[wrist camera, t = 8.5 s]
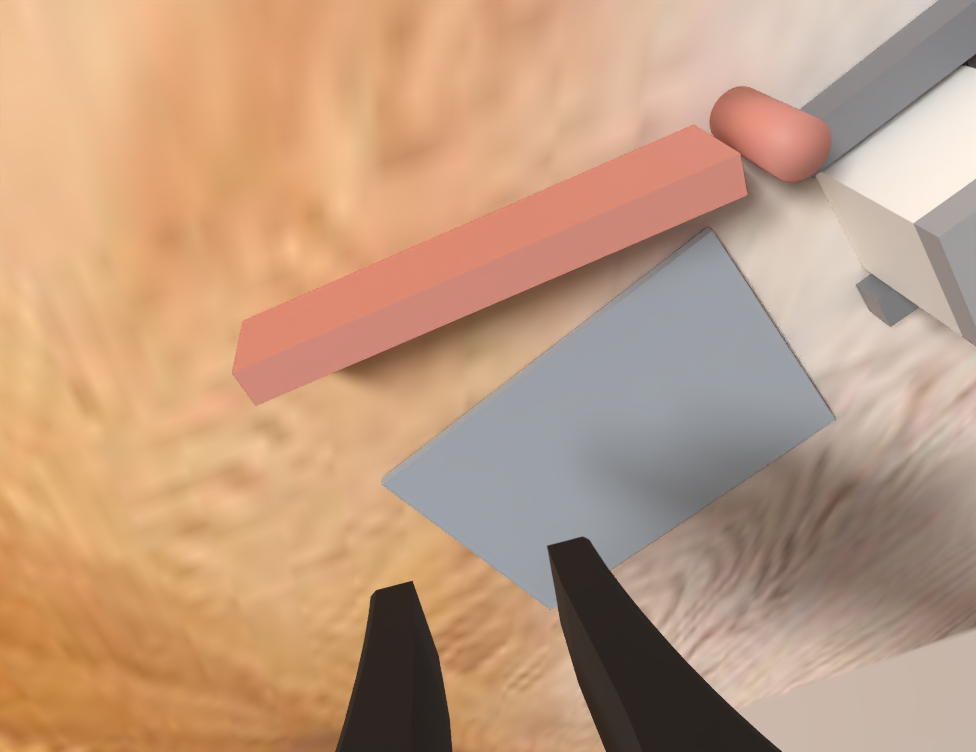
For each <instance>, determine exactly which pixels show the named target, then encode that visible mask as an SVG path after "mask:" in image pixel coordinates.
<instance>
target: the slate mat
mask: <svg viewBox="0 0 976 752" xmlns="http://www.w3.org/2000/svg"><path fill="white" fill-rule="evenodd" d="M834 420H835V418H834V416H833V415H832V413H831V412H830V410H829V409H828V407H827V406H826V404H825V402H824V401H823V399H822V398H821V396H820V395H819V393H818V392H817V390H816V389H815V387H814V386H813V384H812V383H811V381H810V379H809V378H808V376H807V375H806V373H805V372H804V370H803V369H802V367H801V366H800V364H799V363H798V361H797V359H796V358H795V356H794V355H793V353H792V352H791V350H790V349H789V347H788V346H787V344H786V343H785V341H784V340H783V338H782V336H781V335H780V333H779V332H778V330H777V329H776V327H775V326H774V324H773V323H772V321H771V320H770V318H769V316H768V315H767V313H766V312H765V310H764V309H763V307H762V306H761V304H760V303H759V301H758V300H757V298H756V297H755V295H754V293H753V292H752V290H751V289H750V287H749V286H748V284H747V283H746V281H745V280H744V278H743V277H742V275H741V274H740V272H739V270H738V269H737V267H736V266H735V264H734V263H733V261H732V260H731V258H730V257H729V255H728V254H727V252H726V250H725V249H724V247H723V246H722V244H721V243H720V241H719V240H718V238H717V237H716V235H715V234H714V232H713V231H712V230H711V229H710V228H709V227H707V228H705V229H704V230H703V231H702V232H700V233H699V234H698V235H696V236H695V237H694V238H692V239H691V240H690V241H689V242H687V243H686V244H685V245H683V246H682V247H681V248H680V249H678V250H677V251H676V252H674V253H673V254H672V255H670V256H669V257H668V258H667V259H665V260H664V261H663V262H661V263H660V264H659V265H657V266H656V267H655V268H654V269H652V270H651V271H650V272H648V273H647V274H646V275H645V276H643V277H642V278H641V279H639V280H638V281H637V282H635V283H634V284H633V285H632V286H630V287H629V288H628V289H626V290H625V291H624V292H622V293H621V294H620V295H619V296H617V297H616V298H615V299H613V300H612V301H611V302H610V303H608V304H607V305H606V306H604V307H603V308H602V309H600V310H599V311H598V312H597V313H595V314H594V315H593V316H591V317H590V318H589V319H588V320H586V321H585V322H584V323H582V324H581V325H580V326H578V327H577V328H576V329H575V330H573V331H572V332H571V333H569V334H568V335H567V336H565V337H564V338H563V339H562V340H560V341H559V342H558V343H556V344H555V345H554V346H553V347H551V348H550V349H549V350H547V351H546V352H545V353H543V354H542V355H541V356H540V357H538V358H537V359H536V360H534V361H533V362H532V363H530V364H529V365H528V366H527V367H525V368H524V369H523V370H521V371H520V372H519V373H518V374H516V375H515V376H514V377H512V378H511V379H510V380H508V381H507V382H506V383H505V384H503V385H502V386H501V387H499V388H498V389H497V390H495V391H494V392H493V393H492V394H490V395H489V396H488V397H486V398H485V399H484V400H483V401H481V402H480V403H479V404H477V405H476V406H475V407H473V408H472V409H471V410H470V411H468V412H467V413H466V414H464V415H463V416H462V417H461V418H459V419H458V420H457V421H455V422H454V423H453V424H451V425H450V426H449V427H448V428H446V429H445V430H444V431H442V432H441V433H440V434H438V435H437V436H436V437H435V438H433V439H432V440H431V441H429V442H428V443H427V444H426V445H424V446H423V447H422V448H420V449H419V450H418V451H416V452H415V453H414V454H413V455H411V456H410V457H409V458H407V459H406V460H405V461H403V462H402V463H401V464H400V465H398V466H397V467H396V468H394V469H393V470H392V471H391V472H389V473H388V474H387V475H385V476H384V477H383V478H382V485H383V486H384V487H386V488H387V489H388V490H390V491H391V492H392V493H394V494H395V495H396V496H398V497H399V498H400V499H402V500H403V501H405V502H406V503H407V504H409V505H410V506H411V507H413V508H414V509H415V510H417V511H418V512H419V513H421V514H422V515H423V516H425V517H426V518H427V519H429V520H430V521H431V522H433V523H434V524H435V525H437V526H438V527H439V528H441V529H442V530H444V531H445V532H446V533H448V534H449V535H450V536H452V537H453V538H454V539H456V540H457V541H458V542H460V543H461V544H462V545H464V546H465V547H466V548H468V549H469V550H470V551H472V552H473V553H474V554H476V555H477V556H479V557H480V558H481V559H483V560H484V561H485V562H487V563H488V564H489V565H491V566H492V567H493V568H495V569H496V570H497V571H499V572H500V573H501V574H503V575H504V576H505V577H507V578H508V579H509V580H511V581H512V582H513V583H515V584H516V585H518V586H519V587H520V588H522V589H523V590H524V591H526V592H527V593H528V594H530V595H531V596H532V597H534V598H535V599H536V600H538V601H539V602H540V603H542V604H543V605H544V606H546V607H547V608H548V609H550V610H551V609H553V608H554V607H556V606H557V600H556V594H555V588H554V583H553V577H552V572H551V566H550V561H549V555H548V549H547V546H548V545H551V544H555V543H559V542H563V541H567V540H571V539H574V538H578V537H582V536H583V537H585V538H587V539H589V540H590V541H591V543H592V544H593V546H594V548H595V549H596V551H597V552H598V554H599V555H600V557H601V558H602V560H603V561H604V563H605V564H606V566H607V567H608V568H609V570H611V569H613V568H614V567H616V566H617V565H619V564H620V563H622V562H623V561H625V560H626V559H628V558H629V557H631V556H632V555H634V554H635V553H637V552H638V551H640V550H641V549H643V548H644V547H646V546H647V545H649V544H650V543H652V542H653V541H655V540H656V539H658V538H659V537H661V536H662V535H664V534H665V533H667V532H668V531H670V530H671V529H673V528H674V527H676V526H677V525H679V524H680V523H681V522H683V521H684V520H686V519H687V518H689V517H690V516H692V515H693V514H695V513H696V512H698V511H699V510H701V509H702V508H704V507H705V506H707V505H708V504H710V503H711V502H713V501H714V500H716V499H717V498H719V497H720V496H722V495H723V494H725V493H726V492H728V491H729V490H731V489H732V488H734V487H735V486H737V485H738V484H740V483H741V482H743V481H744V480H746V479H747V478H749V477H750V476H752V475H753V474H755V473H756V472H758V471H759V470H761V469H762V468H764V467H765V466H767V465H768V464H770V463H771V462H773V461H774V460H776V459H777V458H779V457H780V456H782V455H783V454H785V453H786V452H788V451H789V450H791V449H792V448H794V447H795V446H797V445H798V444H800V443H801V442H803V441H804V440H806V439H807V438H809V437H810V436H812V435H813V434H815V433H816V432H818V431H819V430H821V429H822V428H824V427H825V426H827V425H828V424H829V423H831V422H832V421H834Z"/></svg>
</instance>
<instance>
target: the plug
mask: <svg viewBox="0 0 976 752" xmlns="http://www.w3.org/2000/svg"><path fill="white" fill-rule="evenodd" d="M816 178H817V180H818V182H819V184H820V186H821V188H822V190H823V192H824V194H825V195H826V197H827V199H828V201H829V203H830V205H831V207H832V209H833V211H834V213H835V215H836V217H837V219H838V221H839V223H840V225H841V227H842V229H843V231H844V233H845V235H846V237H847V239H848V241H849V243H850V245H851V246H852V248H853V250H854V252H855V254H856V256H857V258H858V260H859V262H860V264H861V266H862V267H863V268H864V269H866V270H867V271H868V272H870V273H871V274H873V275H874V276H876V277H877V278H879V279H880V280H881V281H883V282H884V283H886V284H887V285H889V286H890V287H891V288H893V289H894V290H896V291H897V292H899V293H900V294H902V295H903V296H904V297H906V298H907V299H909V300H910V301H912V302H913V303H914V304H916V305H917V306H919V307H920V308H922V309H923V310H925V311H926V312H927V313H929V314H930V315H932V316H933V317H935V318H936V319H937V320H939V321H940V322H942V323H943V324H945V325H946V326H948V327H949V328H950V329H952V330H953V331H955V332H956V333H958V334H959V335H961V336H962V337H963V338H965V339H966V340H968V341H969V342H971V343H972V344H973V345H975V346H976V69H975V68H971V67H968V66H964V65H960V66H959V67H958V68H956V69H955V70H954V71H952V72H951V73H950V74H949V75H947V76H946V77H945V78H943V79H942V80H941V81H939V82H938V83H937V84H935V85H934V86H933V87H931V88H930V89H929V90H927V91H926V92H925V93H924V94H922V95H921V96H920V97H918V98H917V99H916V100H914V101H913V102H912V103H910V104H909V105H908V106H906V107H905V108H904V109H903V110H901V111H900V112H899V113H897V114H896V115H895V116H893V117H892V118H891V119H889V120H888V121H887V122H885V123H884V124H883V125H881V126H880V127H879V128H878V129H876V130H875V131H874V132H872V133H871V134H870V135H868V136H867V137H866V138H864V139H863V140H862V141H860V142H859V143H858V144H856V145H855V146H854V147H853V148H851V149H850V150H849V151H847V152H846V153H845V154H843V155H842V156H841V157H839V158H838V159H837V160H835V161H834V162H833V163H831V164H830V165H829V166H828V167H826V168H825V169H824V170H822V171H821V172H820V173H818V174H817V175H816Z"/></svg>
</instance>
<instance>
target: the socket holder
mask: <svg viewBox="0 0 976 752" xmlns="http://www.w3.org/2000/svg"><path fill="white" fill-rule="evenodd" d="M966 61H967V63H968V66H969V67H971V68H975V69H976V0H939V1H937V2H936V3H935V4H934V5H932V6H931V7H930V8H928V9H927V10H926V11H925V12H923V13H922V14H921V15H920V16H918V17H917V18H916V19H914V20H913V21H912V22H911V23H909V24H908V25H907V26H906V27H904V28H903V29H902V30H901V31H899V32H898V33H897V34H895V35H894V36H893V37H892V38H890V39H889V40H888V41H887V42H885V43H884V44H883V45H881V46H880V47H879V48H878V49H876V50H875V51H874V52H873V53H871V54H870V55H869V56H868V57H866V58H865V59H864V60H862V61H861V62H860V63H859V64H857V65H856V66H855V67H854V68H852V69H851V70H850V71H848V72H847V73H846V74H845V75H843V76H842V77H841V78H840V79H838V80H837V81H836V82H835V83H833V84H832V85H831V86H829V87H828V88H827V89H826V90H824V91H823V92H822V93H821V94H819V95H818V96H817V97H815V98H814V99H813V100H812V101H810V102H809V103H808V104H807V105H805V106H804V107H803V108H802V109H800V110H801V111H803V112H805V113H807V114H810V115H812V116H814V117H816V118H819V119H821V120H822V121H824V122H825V123H826V124H827V126H828V128H829V129H830V132H831V148H830V151H829V154H828V156H827V158H826V160H825V162H824V163H823V165H822V166H821V167H820V168H819V169H818V170H817V171H816V172H815V173H814V174H813V175H811V177H814V176H816V175H817V174H818V173H820V172H821V171H822V170H824V169H825V168H826V167H828V166H829V165H830V164H831V163H833V162H834V161H835V160H837V159H838V158H839V157H841V156H842V155H843V154H845V153H846V152H847V151H849V150H850V149H851V148H853V147H854V146H855V145H856V144H858V143H859V142H860V141H862V140H863V139H864V138H866V137H867V136H868V135H870V134H871V133H872V132H874V131H875V130H876V129H878V128H879V127H880V126H881V125H883V124H884V123H885V122H887V121H888V120H889V119H891V118H892V117H893V116H895V115H896V114H897V113H899V112H900V111H901V110H903V109H904V108H905V107H906V106H908V105H909V104H910V103H912V102H913V101H914V100H916V99H917V98H918V97H920V96H921V95H922V94H924V93H925V92H926V91H927V90H929V89H930V88H931V87H933V86H934V85H935V84H937V83H938V82H939V81H941V80H942V79H943V78H945V77H946V76H947V75H949V74H950V73H951V72H952V71H954V70H955V69H956V68H958V67H959V66H960V65H962V64H963V63H964V62H966ZM856 286H857V288H858V290H859V292H860V294H861V295H862V297H863V299H864V301H865V303H866V305H867V307H868V309H869V310H870V311H871V312H872V313H873V314H874V315H876V316H877V317H878V318H880V319H881V320H882V321H884V322H885V323H886V324H888V325H889V326H890V327H891V326H892V325H894V324H895V323H897V322H898V321H900V320H901V319H902V318H904V317H905V316H907V315H908V314H910V313H911V312H913V311H914V310H916V309H917V308H918V307H919V306H917V305H916V304H914V303H913V302H912V301H910V300H909V299H907V298H906V297H904V296H903V295H902V294H900V293H899V292H897V291H896V290H894V289H893V288H891V287H890V286H889V285H887V284H886V283H884V282H883V281H881V280H880V279H879V278H877V277H876V276H874V275H873V274H871V275H870V276H868V277H867V278H865V279H864V280H863V281H861V282H860V283H858V284H857V285H856Z"/></svg>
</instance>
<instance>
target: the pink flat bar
mask: <svg viewBox="0 0 976 752" xmlns="http://www.w3.org/2000/svg"><path fill="white" fill-rule="evenodd" d="M710 129H711V132H712V134H713V136H714V137H713V136H712V135H710V134H708V133H707V132H705V131H703V130H702V129H700V128H699V127H697V126H695V125H692V126H689V127H687V128H685V129H683V130H680V131H678V132H676V133H673V134H671V135H669V136H666V137H664V138H662V139H660V140H657V141H655V142H653V143H650V144H648V145H646V146H644V147H641V148H639V149H637V150H634V151H632V152H630V153H627V154H625V155H623V156H621V157H618V158H616V159H614V160H611V161H609V162H607V163H605V164H602V165H600V166H598V167H595V168H593V169H591V170H588V171H586V172H584V173H582V174H579V175H577V176H575V177H572V178H570V179H568V180H566V181H563V182H561V183H559V184H556V185H554V186H552V187H549V188H547V189H545V190H543V191H540V192H538V193H536V194H533V195H531V196H529V197H527V198H524V199H522V200H520V201H517V202H515V203H513V204H510V205H508V206H506V207H504V208H501V209H499V210H497V211H494V212H492V213H490V214H488V215H485V216H483V217H481V218H478V219H476V220H474V221H471V222H469V223H467V224H465V225H462V226H460V227H458V228H455V229H453V230H451V231H449V232H446V233H444V234H442V235H439V236H437V237H435V238H432V239H430V240H428V241H426V242H423V243H421V244H419V245H416V246H414V247H412V248H409V249H407V250H405V251H403V252H400V253H398V254H396V255H393V256H391V257H389V258H387V259H384V260H382V261H380V262H377V263H375V264H373V265H370V266H368V267H366V268H364V269H361V270H359V271H357V272H354V273H352V274H350V275H348V276H345V277H343V278H341V279H338V280H336V281H334V282H331V283H329V284H327V285H325V286H322V287H320V288H318V289H315V290H313V291H311V292H309V293H306V294H304V295H302V296H299V297H297V298H295V299H292V300H290V301H288V302H286V303H283V304H281V305H279V306H276V307H274V308H272V309H270V310H267V311H265V312H263V313H260V314H258V315H256V316H253V317H251V318H249V319H247V320H244V321H242V325H241V330H240V335H239V340H238V345H237V350H236V355H235V360H234V365H233V370H232V374H233V376H234V377H235V378H236V380H237V381H238V383H239V384H240V385H241V387H242V388H243V389H244V391H245V392H246V393H247V395H248V396H249V398H250V399H251V400H252V402H253V403H254V404H255V406H257V405H259V404H261V403H264V402H266V401H268V400H271V399H273V398H275V397H278V396H280V395H282V394H285V393H287V392H289V391H292V390H294V389H296V388H299V387H301V386H303V385H306V384H308V383H310V382H313V381H315V380H317V379H320V378H322V377H324V376H327V375H329V374H331V373H334V372H336V371H338V370H341V369H343V368H345V367H348V366H350V365H352V364H355V363H357V362H359V361H362V360H364V359H366V358H369V357H371V356H373V355H376V354H378V353H380V352H383V351H385V350H387V349H390V348H392V347H394V346H397V345H399V344H401V343H404V342H406V341H408V340H411V339H413V338H415V337H418V336H420V335H422V334H425V333H427V332H429V331H432V330H434V329H436V328H439V327H441V326H443V325H446V324H448V323H450V322H453V321H455V320H457V319H460V318H462V317H464V316H467V315H469V314H471V313H474V312H476V311H478V310H481V309H483V308H485V307H488V306H490V305H492V304H495V303H497V302H499V301H502V300H504V299H506V298H509V297H511V296H513V295H516V294H518V293H520V292H523V291H525V290H527V289H530V288H532V287H534V286H537V285H539V284H541V283H544V282H546V281H548V280H551V279H553V278H555V277H558V276H560V275H562V274H565V273H567V272H569V271H572V270H574V269H577V268H579V267H581V266H584V265H586V264H588V263H591V262H593V261H595V260H598V259H600V258H602V257H605V256H607V255H609V254H612V253H614V252H616V251H619V250H621V249H623V248H626V247H628V246H630V245H633V244H635V243H637V242H640V241H642V240H644V239H647V238H649V237H651V236H654V235H656V234H658V233H661V232H663V231H665V230H668V229H670V228H672V227H675V226H677V225H679V224H682V223H684V222H686V221H689V220H691V219H693V218H696V217H698V216H700V215H703V214H705V213H707V212H710V211H712V210H714V209H717V208H719V207H721V206H724V205H726V204H728V203H731V202H733V201H735V200H738V199H740V198H742V197H745V196H747V190H746V184H745V178H744V172H743V166H742V160H741V155H742V156H743V157H745V158H747V159H748V160H750V161H751V162H753V163H755V164H756V165H758V166H759V167H761V168H763V169H764V170H766V171H767V172H769V173H771V174H772V175H774V176H775V177H777V178H779V179H780V180H782V181H785V182H798V181H802V180H804V179H806V178H808V177H810V176H811V175H813V174H814V173H815V172H816V171H817V170H818V169H819V168H820V167H821V166H822V165H823V163H824V162H825V160H826V158H827V156H828V154H829V151H830V148H831V132H830V129H829V128H828V126H827V124H826V123H825V122H824V121H822V120H821V119H819V118H816V117H814V116H812V115H810V114H807V113H805V112H803V111H801V110H799V109H796V108H794V107H792V106H790V105H788V104H785V103H783V102H781V101H779V100H776V99H774V98H772V97H770V96H768V95H765V94H763V93H761V92H759V91H757V90H754V89H752V88H750V87H744V86H741V87H736V88H733V89H731V90H729V91H727V92H726V93H724V94H723V95H722V96H721V97H720V98H719V99H718V101H717V102H716V104H715V105H714V107H713V109H712V112H711V116H710Z"/></svg>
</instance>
